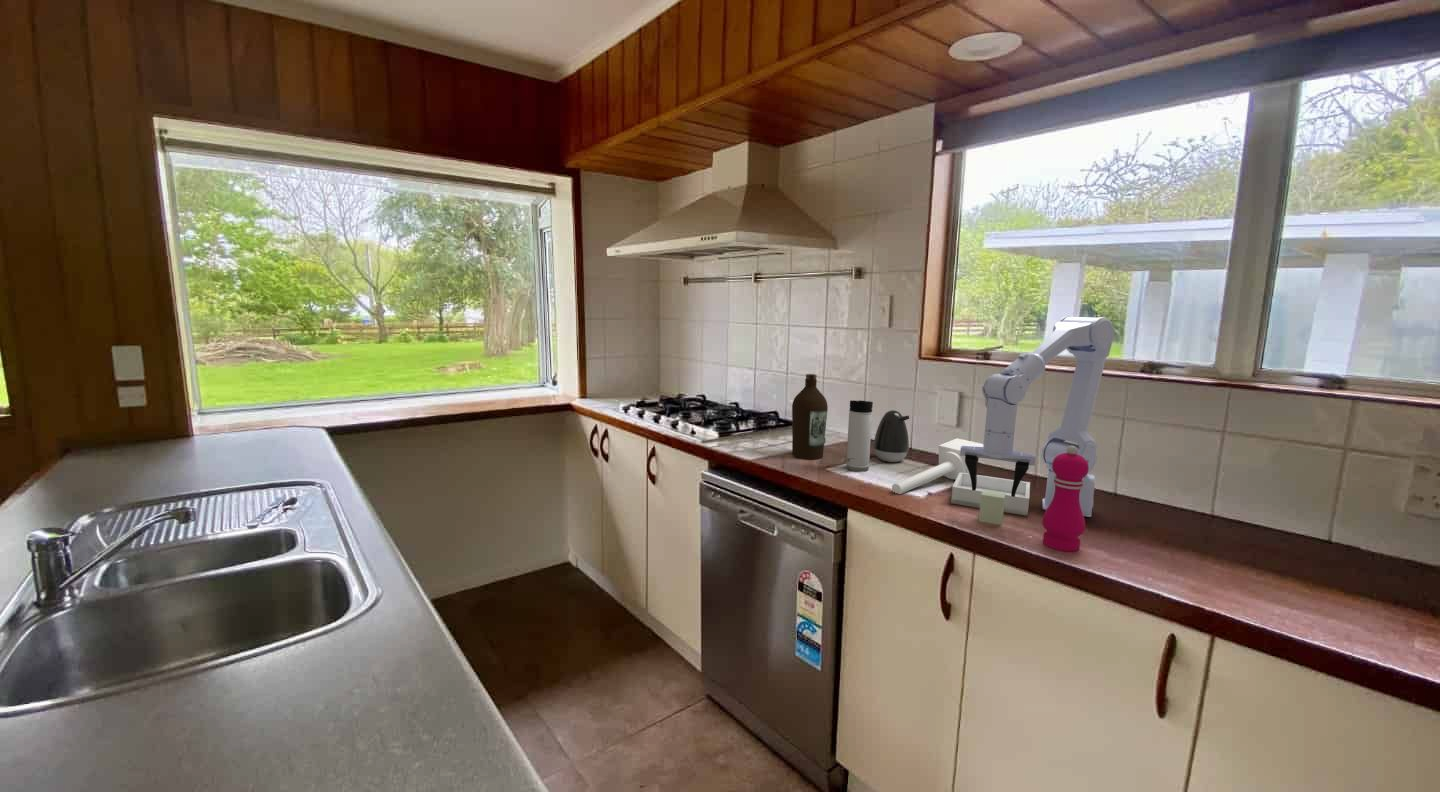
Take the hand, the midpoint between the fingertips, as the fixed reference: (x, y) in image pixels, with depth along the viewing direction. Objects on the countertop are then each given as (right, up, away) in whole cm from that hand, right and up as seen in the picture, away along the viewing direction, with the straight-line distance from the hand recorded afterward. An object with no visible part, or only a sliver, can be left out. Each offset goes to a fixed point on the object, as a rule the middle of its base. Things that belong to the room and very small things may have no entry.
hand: (993, 492), depth 126 cm
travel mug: (-20, 0, +39) cm, 44 cm away
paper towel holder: (-3, -3, +27) cm, 27 cm away
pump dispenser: (-8, +1, +49) cm, 50 cm away
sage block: (0, -6, +1) cm, 6 cm away
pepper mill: (+8, -9, -12) cm, 17 cm away
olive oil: (-32, +2, +52) cm, 61 cm away
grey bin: (+6, -4, +14) cm, 15 cm away
